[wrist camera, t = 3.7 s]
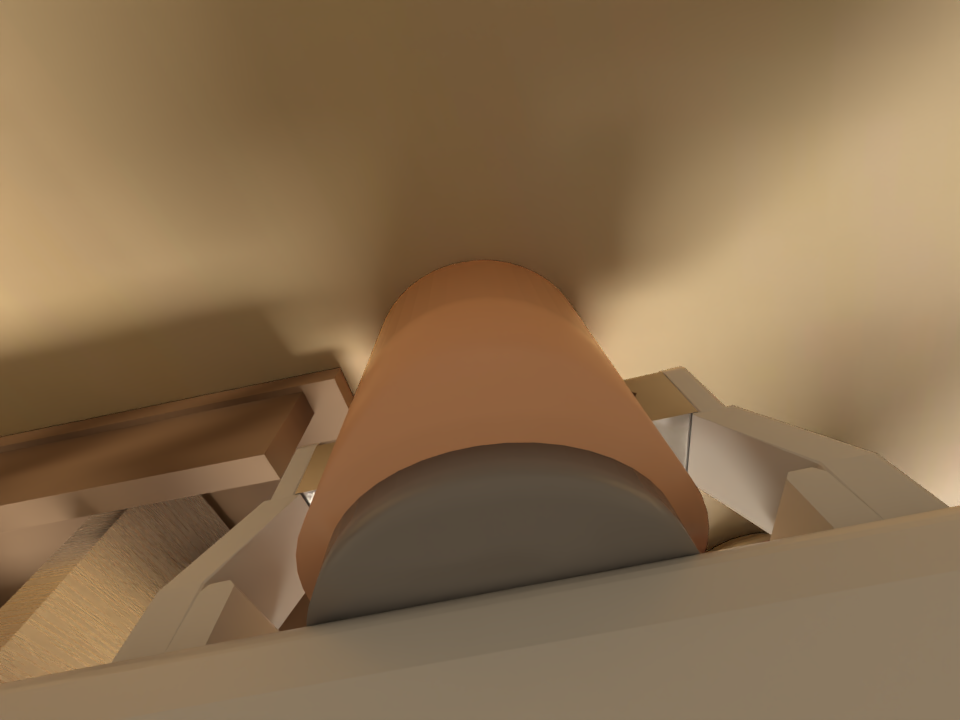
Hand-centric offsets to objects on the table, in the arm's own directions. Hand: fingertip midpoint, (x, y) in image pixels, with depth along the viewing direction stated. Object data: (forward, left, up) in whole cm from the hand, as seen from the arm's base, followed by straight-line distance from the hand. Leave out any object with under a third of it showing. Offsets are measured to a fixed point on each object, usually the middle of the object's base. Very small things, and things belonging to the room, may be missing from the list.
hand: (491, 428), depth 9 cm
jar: (0, 0, -3) cm, 3 cm away
